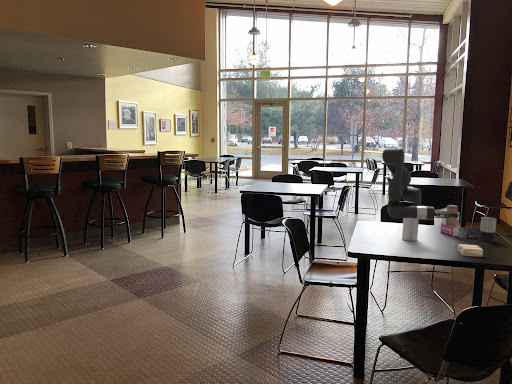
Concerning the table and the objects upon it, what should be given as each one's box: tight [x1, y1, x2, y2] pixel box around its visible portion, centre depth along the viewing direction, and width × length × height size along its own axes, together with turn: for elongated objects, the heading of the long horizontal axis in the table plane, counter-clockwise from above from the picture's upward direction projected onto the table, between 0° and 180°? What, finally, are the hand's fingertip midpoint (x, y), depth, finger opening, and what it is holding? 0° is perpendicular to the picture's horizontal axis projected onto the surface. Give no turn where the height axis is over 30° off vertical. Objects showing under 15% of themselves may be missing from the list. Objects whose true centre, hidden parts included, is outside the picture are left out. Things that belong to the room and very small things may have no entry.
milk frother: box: [464, 216, 498, 243], centre depth 271 cm, size 14×16×15 cm
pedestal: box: [457, 243, 484, 258], centre depth 235 cm, size 10×10×4 cm
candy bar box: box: [439, 209, 461, 237], centre depth 284 cm, size 11×5×16 cm, turn 21°
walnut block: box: [445, 204, 459, 228], centre depth 233 cm, size 4×4×12 cm
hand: (456, 214), depth 233 cm, fingers closed on walnut block, 4 cm apart
